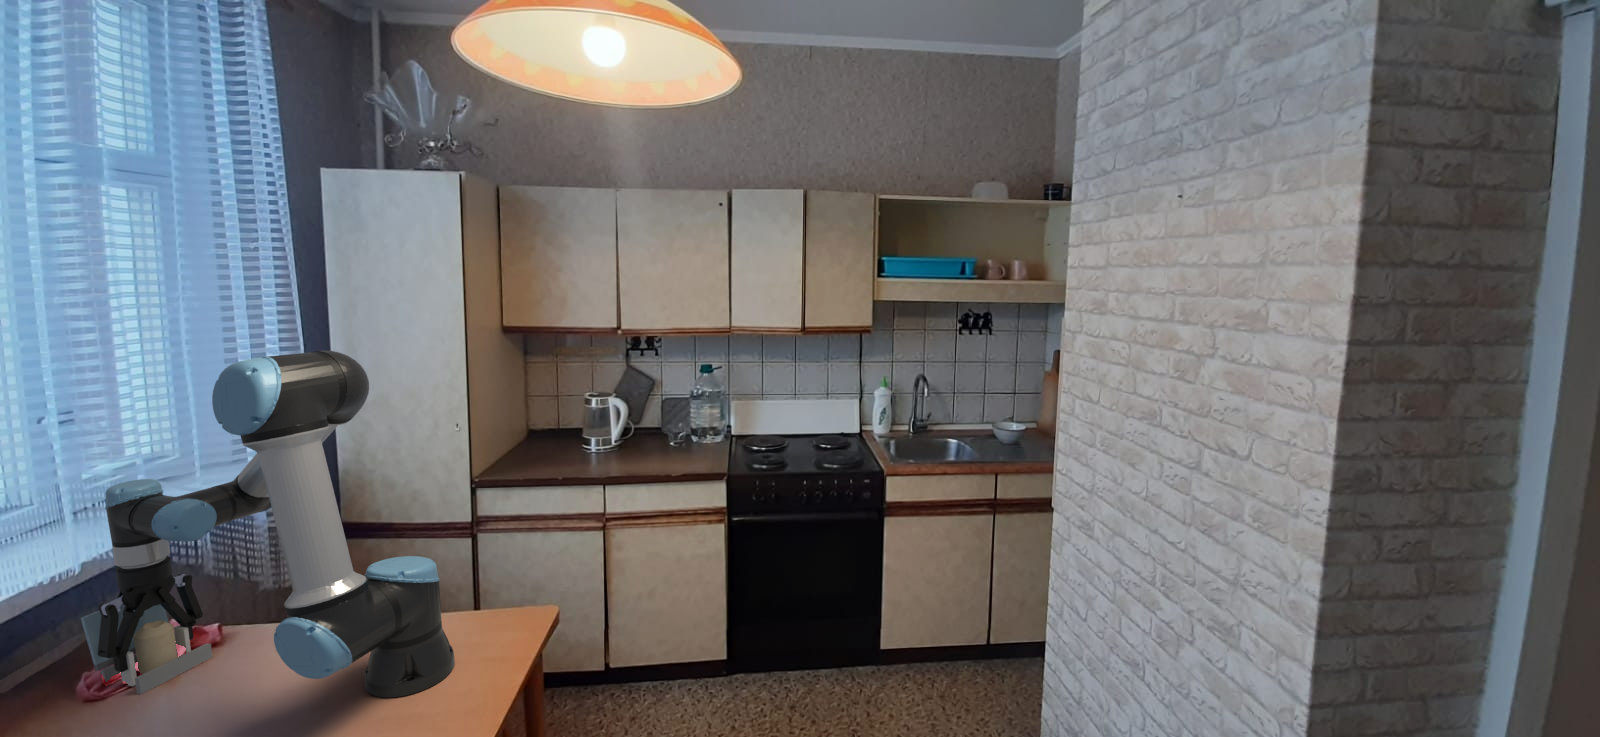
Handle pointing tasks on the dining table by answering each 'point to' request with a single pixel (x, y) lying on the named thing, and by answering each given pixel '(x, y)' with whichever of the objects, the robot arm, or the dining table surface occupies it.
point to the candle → (155, 645)
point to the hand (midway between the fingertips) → (158, 670)
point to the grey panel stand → (165, 669)
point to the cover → (93, 631)
